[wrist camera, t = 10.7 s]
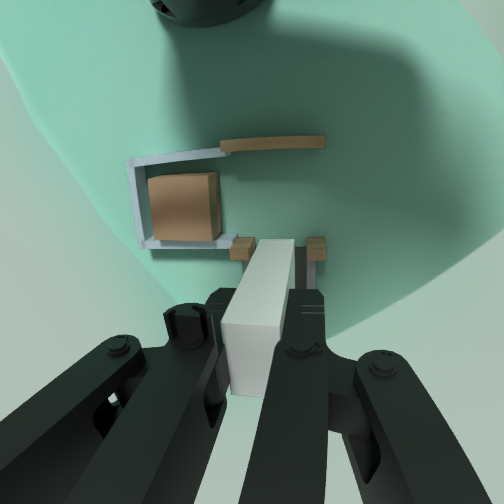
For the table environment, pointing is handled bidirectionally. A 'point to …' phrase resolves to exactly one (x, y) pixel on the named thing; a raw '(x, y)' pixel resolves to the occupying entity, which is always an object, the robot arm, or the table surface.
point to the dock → (143, 207)
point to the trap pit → (299, 269)
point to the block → (185, 206)
